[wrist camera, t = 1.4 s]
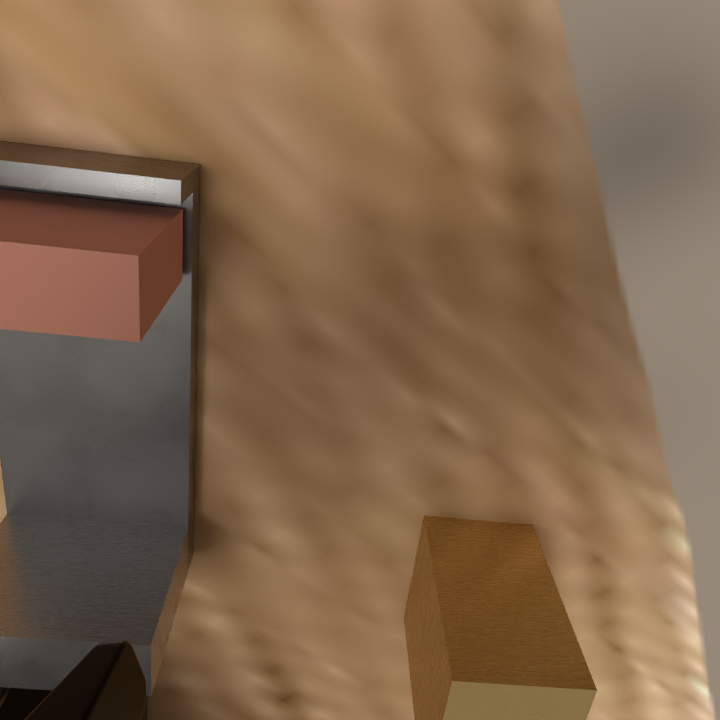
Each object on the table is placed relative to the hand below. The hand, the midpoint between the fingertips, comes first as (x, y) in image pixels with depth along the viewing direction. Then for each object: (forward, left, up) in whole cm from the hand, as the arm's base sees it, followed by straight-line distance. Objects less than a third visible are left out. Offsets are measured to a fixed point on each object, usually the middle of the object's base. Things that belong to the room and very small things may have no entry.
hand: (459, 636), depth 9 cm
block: (-11, -4, -13) cm, 17 cm away
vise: (-4, +9, -13) cm, 16 cm away
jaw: (+1, +9, -12) cm, 15 cm away
